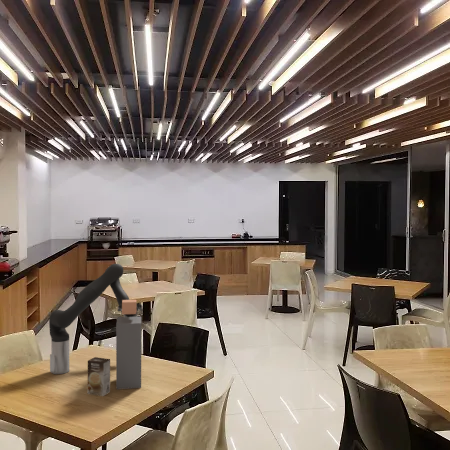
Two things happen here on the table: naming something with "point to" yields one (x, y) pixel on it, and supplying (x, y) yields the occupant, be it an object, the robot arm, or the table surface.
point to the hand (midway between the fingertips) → (129, 302)
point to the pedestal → (128, 352)
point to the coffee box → (98, 376)
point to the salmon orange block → (128, 306)
